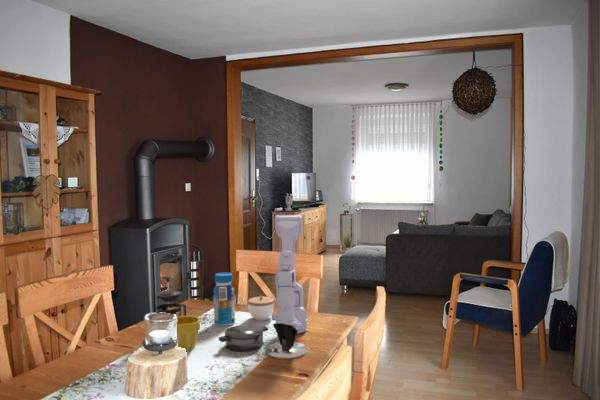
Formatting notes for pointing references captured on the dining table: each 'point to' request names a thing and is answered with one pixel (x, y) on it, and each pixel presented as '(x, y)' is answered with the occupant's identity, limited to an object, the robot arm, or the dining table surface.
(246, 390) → the dining table surface
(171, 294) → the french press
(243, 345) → the cooking pot
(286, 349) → the lid
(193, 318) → the plant pot
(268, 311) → the lidded jar
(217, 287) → the beverage bottle
